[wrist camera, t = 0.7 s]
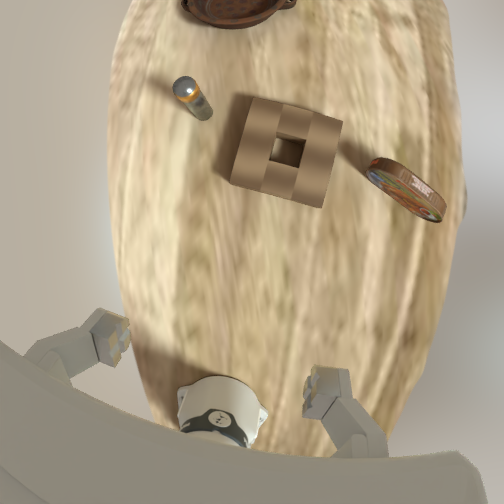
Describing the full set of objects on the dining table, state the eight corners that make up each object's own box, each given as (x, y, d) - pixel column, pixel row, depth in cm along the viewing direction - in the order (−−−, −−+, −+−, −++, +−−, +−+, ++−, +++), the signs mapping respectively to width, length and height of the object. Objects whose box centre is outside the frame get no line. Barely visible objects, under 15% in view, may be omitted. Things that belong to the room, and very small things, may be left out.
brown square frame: (317, 208, 45) (321, 208, 41) (232, 185, 45) (228, 182, 41) (337, 127, 42) (343, 121, 38) (254, 105, 43) (253, 96, 39)
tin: (358, 174, 43) (376, 168, 35) (367, 158, 43) (385, 150, 34) (424, 222, 44) (449, 226, 35) (431, 208, 43) (457, 209, 35)
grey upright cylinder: (210, 122, 43) (191, 97, 32) (192, 119, 44) (168, 95, 32) (215, 105, 43) (198, 76, 31) (197, 102, 43) (176, 74, 31)
